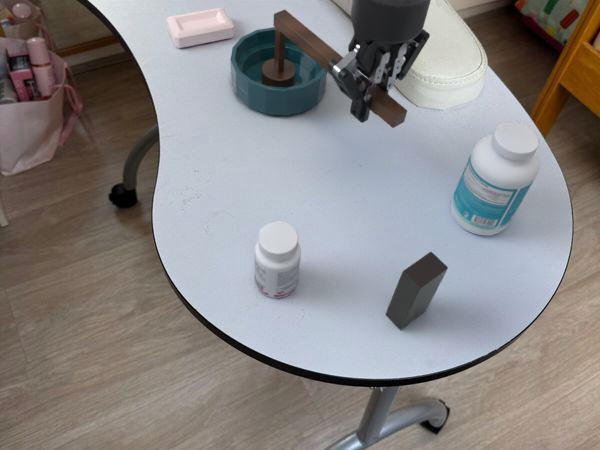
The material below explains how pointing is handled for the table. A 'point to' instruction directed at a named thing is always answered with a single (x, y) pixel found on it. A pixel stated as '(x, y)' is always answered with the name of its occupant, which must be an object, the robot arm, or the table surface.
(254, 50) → the bowl
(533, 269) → the table surface
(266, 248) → the pill bottle
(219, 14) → the soap bar
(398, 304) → the dark grey rubber eraser
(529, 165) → the pill bottle
